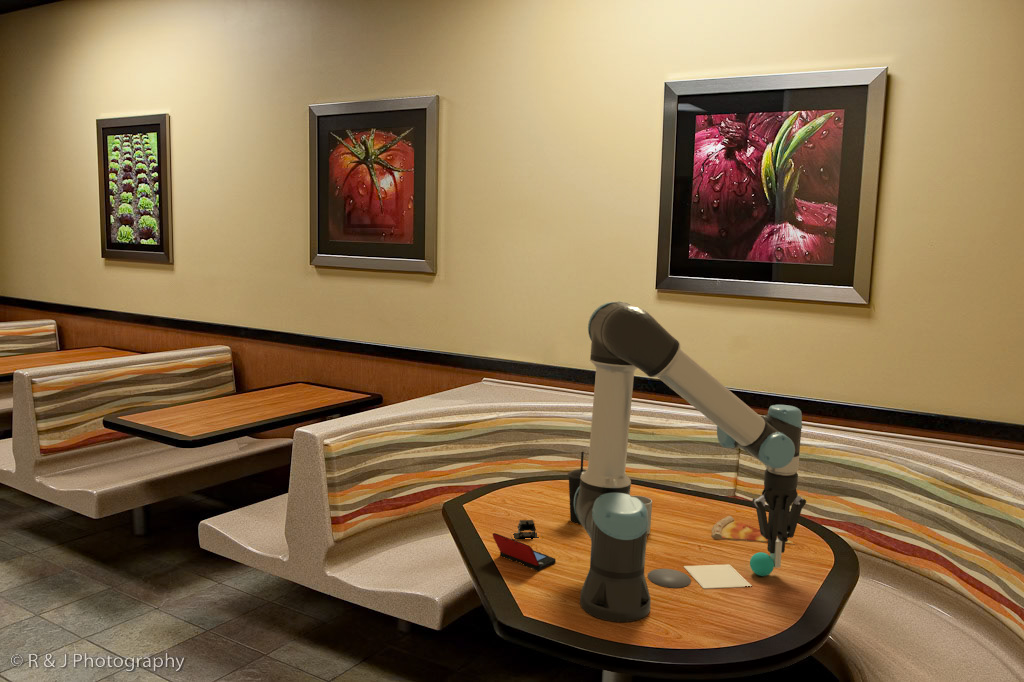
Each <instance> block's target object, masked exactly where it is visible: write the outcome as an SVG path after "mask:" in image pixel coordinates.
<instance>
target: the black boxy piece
mask: <svg viewBox="0 0 1024 682" xmlns="http://www.w3.org/2000/svg"><path fill="white" fill-rule="evenodd" d="M518 521H519V523H518V525H517V532H513V533H514V534H513V535H514V538H515V539H525V538H531V539H533V538H539V537H537V532H536V531H537V528H536V526H535V522H534V520H533V519H520V520H518Z"/></svg>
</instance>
